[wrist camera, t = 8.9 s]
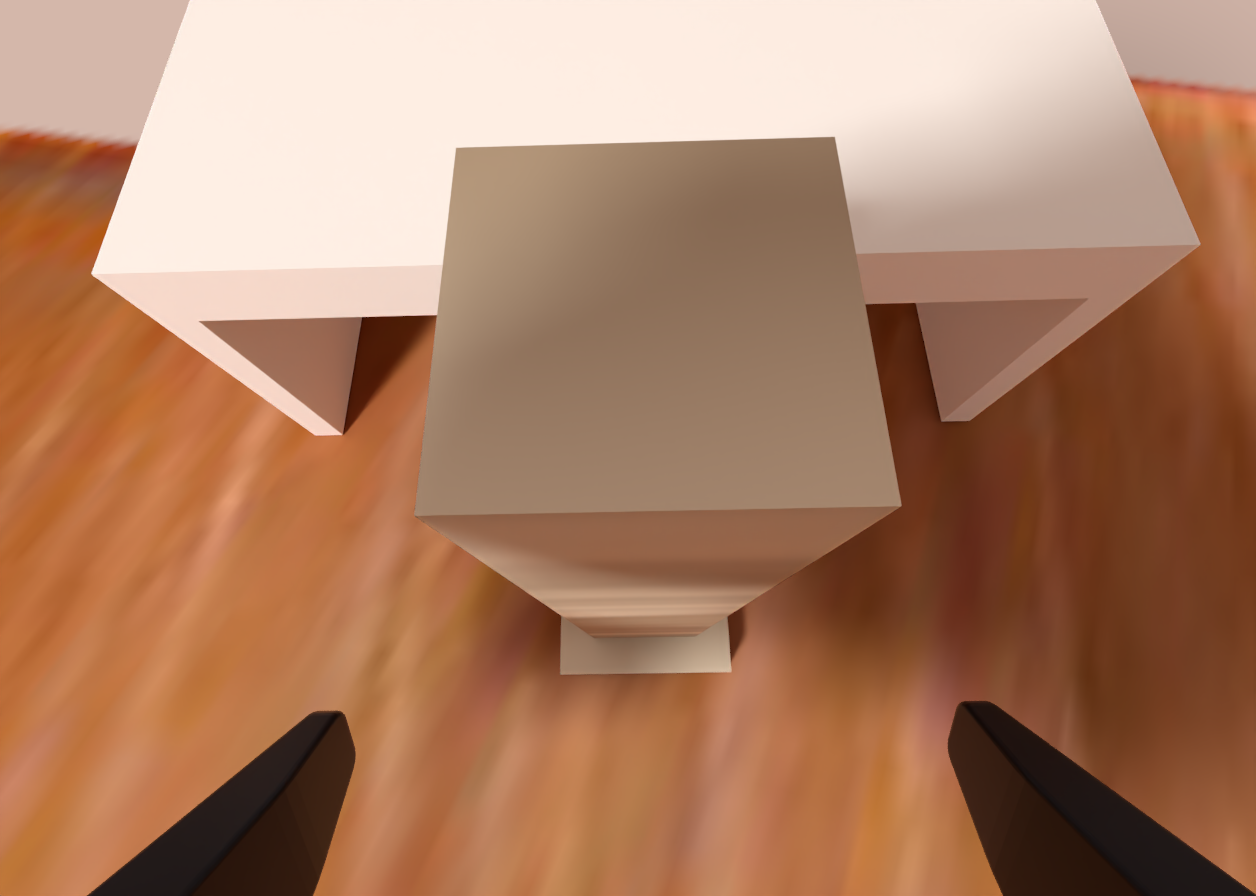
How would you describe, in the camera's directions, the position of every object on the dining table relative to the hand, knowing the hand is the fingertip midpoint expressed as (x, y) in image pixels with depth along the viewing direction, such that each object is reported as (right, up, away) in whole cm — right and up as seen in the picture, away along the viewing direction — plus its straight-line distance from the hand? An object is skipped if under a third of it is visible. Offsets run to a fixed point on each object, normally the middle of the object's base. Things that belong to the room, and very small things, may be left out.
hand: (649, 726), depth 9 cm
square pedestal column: (0, +6, +9) cm, 11 cm away
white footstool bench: (0, +8, +10) cm, 13 cm away
